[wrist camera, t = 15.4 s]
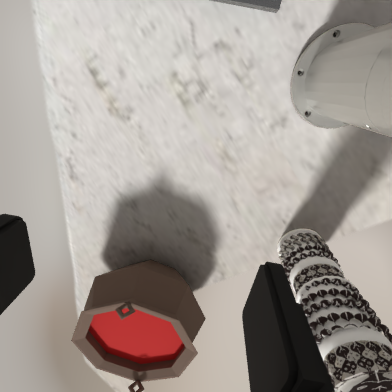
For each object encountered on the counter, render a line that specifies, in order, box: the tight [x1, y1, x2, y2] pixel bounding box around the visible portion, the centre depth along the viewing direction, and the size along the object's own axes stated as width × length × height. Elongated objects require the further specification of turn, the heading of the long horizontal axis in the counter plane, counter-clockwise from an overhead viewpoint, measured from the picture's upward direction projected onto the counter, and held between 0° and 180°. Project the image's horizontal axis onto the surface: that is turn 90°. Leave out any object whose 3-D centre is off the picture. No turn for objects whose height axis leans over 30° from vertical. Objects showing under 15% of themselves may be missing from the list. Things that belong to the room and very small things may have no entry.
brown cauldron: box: [71, 260, 205, 392], centre depth 45 cm, size 24×24×16 cm
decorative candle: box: [277, 228, 392, 392], centre depth 33 cm, size 9×9×25 cm
